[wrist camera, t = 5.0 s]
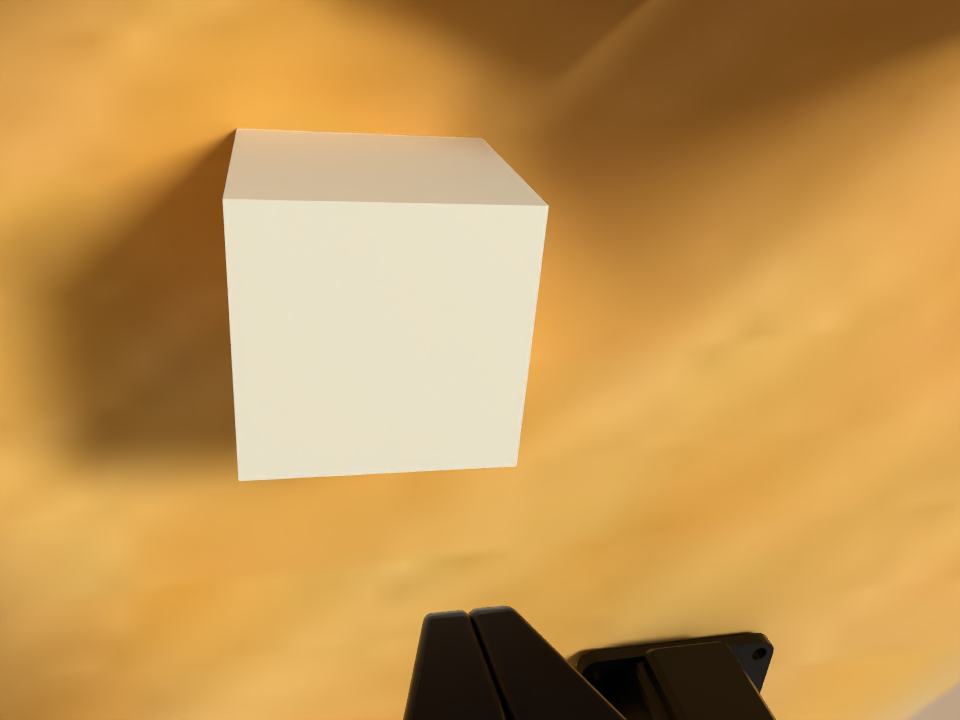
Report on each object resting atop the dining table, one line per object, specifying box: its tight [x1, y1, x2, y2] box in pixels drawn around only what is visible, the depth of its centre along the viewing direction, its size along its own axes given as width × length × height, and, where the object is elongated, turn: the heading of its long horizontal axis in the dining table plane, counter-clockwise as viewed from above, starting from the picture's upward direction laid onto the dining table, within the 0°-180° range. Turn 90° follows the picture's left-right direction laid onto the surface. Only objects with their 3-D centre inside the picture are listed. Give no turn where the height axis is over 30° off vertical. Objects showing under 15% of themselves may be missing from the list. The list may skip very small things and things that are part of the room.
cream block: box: [223, 128, 549, 481], centre depth 16 cm, size 5×5×5 cm
